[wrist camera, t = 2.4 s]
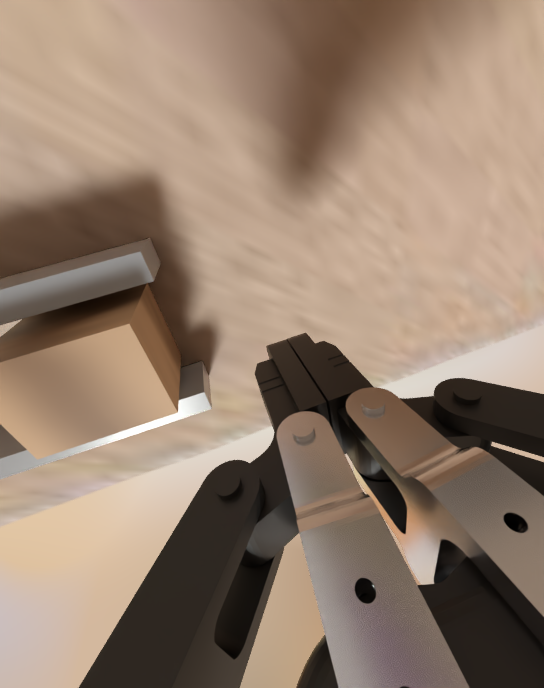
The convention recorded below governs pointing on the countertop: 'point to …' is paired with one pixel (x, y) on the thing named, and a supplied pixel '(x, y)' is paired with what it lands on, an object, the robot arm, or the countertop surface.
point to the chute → (77, 286)
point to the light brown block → (88, 371)
